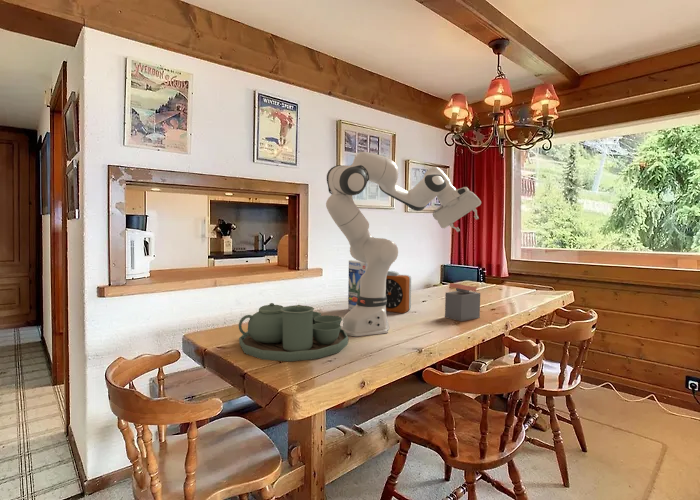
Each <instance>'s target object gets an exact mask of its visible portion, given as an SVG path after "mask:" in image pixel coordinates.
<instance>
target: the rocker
mask: <svg viewBox="0 0 700 500" xmlns="http://www.w3.org/2000/svg"><path fill="white" fill-rule="evenodd" d="M449 288H453V289H455V291H459V292H464V293H469V291H471V292H477V287H475V286H472V285H471V286H470V285H464V284H461V283H452V282H449Z"/></svg>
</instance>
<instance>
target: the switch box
mask: <svg viewBox="0 0 700 500" xmlns="http://www.w3.org/2000/svg"><path fill="white" fill-rule="evenodd" d="M444 298H445V299H444V300H445V304H444V306H445V307H444V318H446V317H447V319H452V320H455V321H459V322H465V321H469V320H471V321H472V320H475V319H479V318H481V317H480V316H481V293H480V292H477V291H476V292H475V291H469V293H464V292H459V291H456V290H455V291H448V292H445V297H444Z"/></svg>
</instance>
